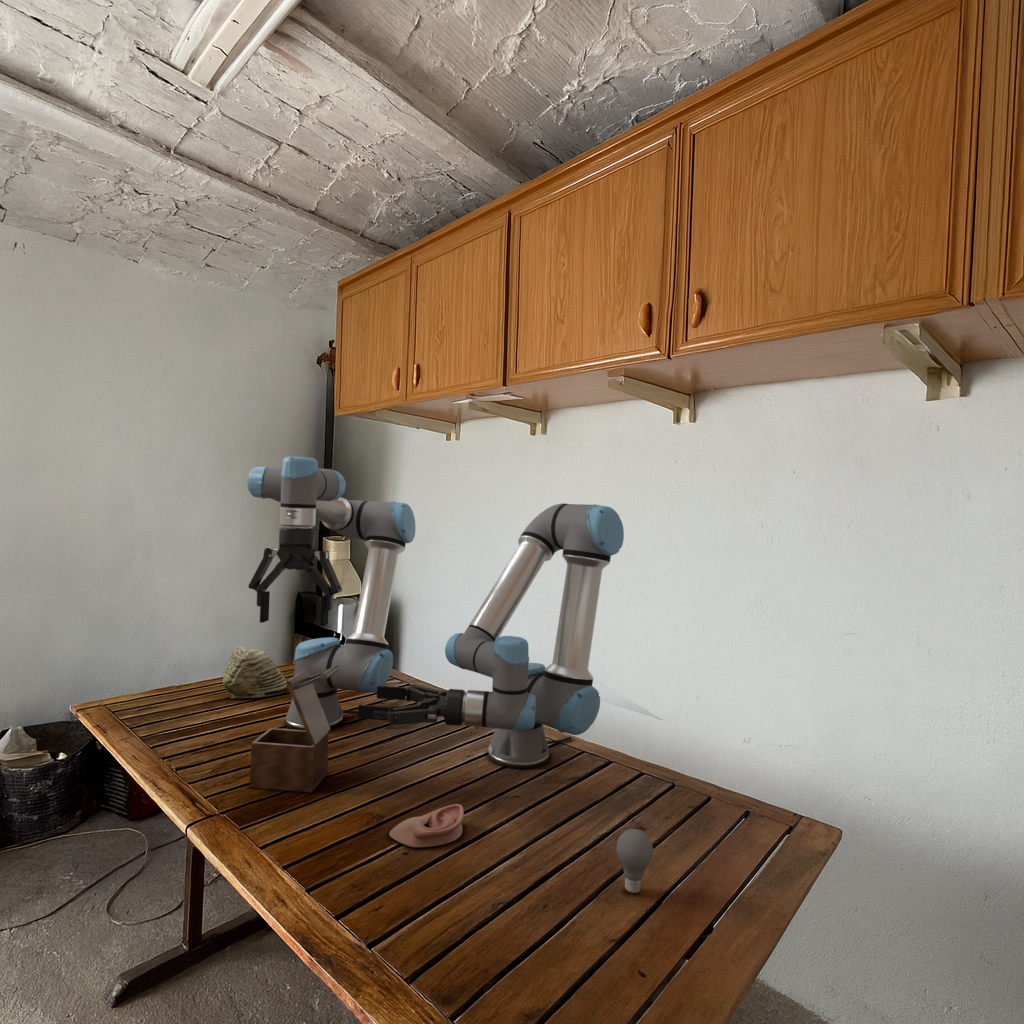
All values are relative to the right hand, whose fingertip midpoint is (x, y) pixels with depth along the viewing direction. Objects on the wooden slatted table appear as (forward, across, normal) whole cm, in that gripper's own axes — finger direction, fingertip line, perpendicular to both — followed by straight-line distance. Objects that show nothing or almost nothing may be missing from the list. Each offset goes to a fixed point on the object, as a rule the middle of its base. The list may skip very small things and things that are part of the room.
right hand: (368, 701), depth 139 cm
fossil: (+53, +55, -19) cm, 79 cm away
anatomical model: (-17, -17, -19) cm, 31 cm away
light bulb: (-55, -30, -19) cm, 65 cm away
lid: (+14, 0, -2) cm, 14 cm away
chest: (+17, 0, -19) cm, 26 cm away
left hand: (+17, 0, +16) cm, 24 cm away
